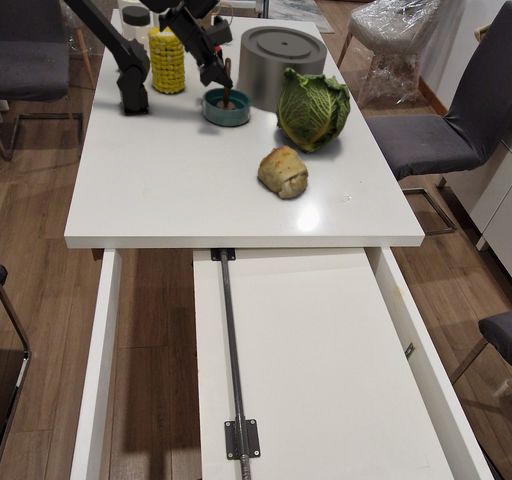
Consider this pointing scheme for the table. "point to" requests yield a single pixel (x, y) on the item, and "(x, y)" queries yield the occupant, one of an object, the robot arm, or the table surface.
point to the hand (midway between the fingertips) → (231, 85)
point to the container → (276, 61)
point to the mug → (207, 20)
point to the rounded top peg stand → (226, 90)
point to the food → (166, 60)
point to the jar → (137, 25)
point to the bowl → (226, 116)
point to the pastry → (283, 172)
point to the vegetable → (312, 109)
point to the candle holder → (126, 1)
